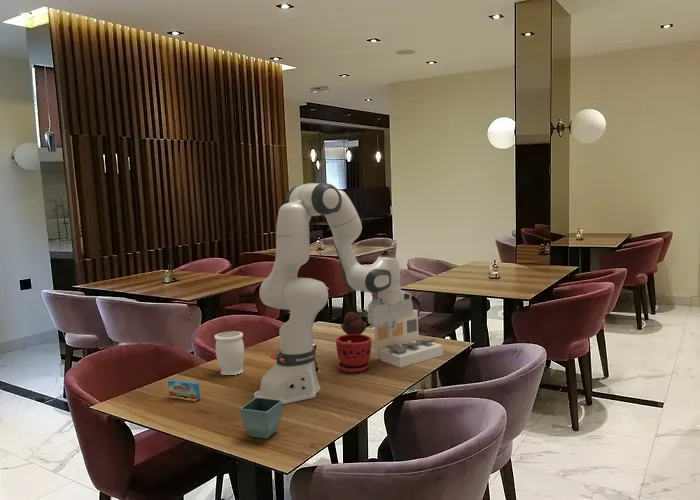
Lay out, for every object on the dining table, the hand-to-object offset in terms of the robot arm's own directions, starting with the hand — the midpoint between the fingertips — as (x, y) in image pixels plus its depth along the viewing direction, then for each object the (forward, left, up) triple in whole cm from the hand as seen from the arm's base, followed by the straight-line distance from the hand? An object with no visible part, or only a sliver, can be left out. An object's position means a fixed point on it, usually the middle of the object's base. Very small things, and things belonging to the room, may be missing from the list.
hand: (391, 331), depth 216 cm
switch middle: (+7, -3, -6) cm, 10 cm away
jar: (-54, +31, -12) cm, 63 cm away
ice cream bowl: (+1, +27, -12) cm, 29 cm away
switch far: (+15, -3, -6) cm, 16 cm away
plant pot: (-17, +2, -12) cm, 21 cm away
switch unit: (+7, -2, -11) cm, 13 cm away
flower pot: (-69, -26, -12) cm, 75 cm away
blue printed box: (-77, +17, -12) cm, 80 cm away
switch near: (0, -3, -6) cm, 7 cm away
